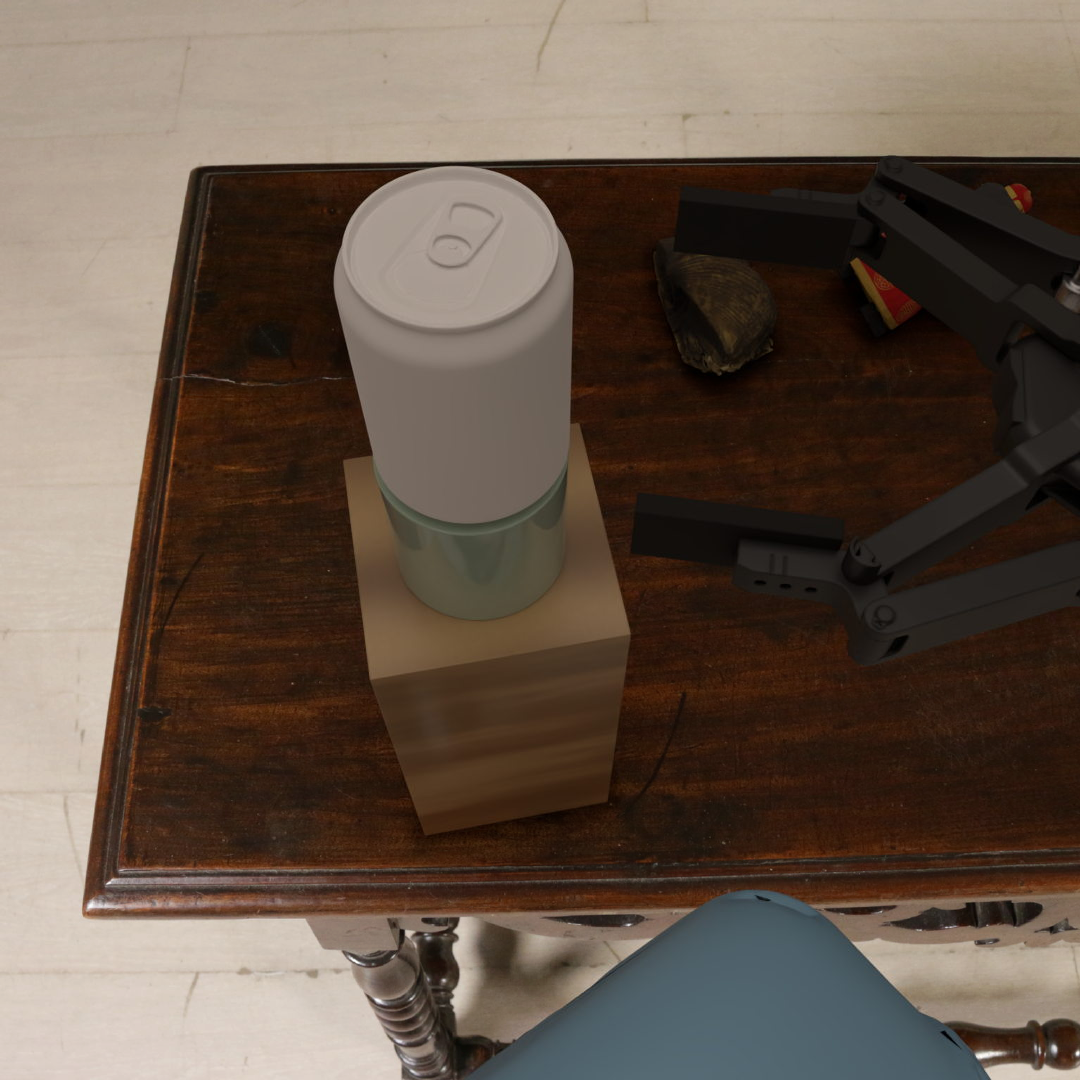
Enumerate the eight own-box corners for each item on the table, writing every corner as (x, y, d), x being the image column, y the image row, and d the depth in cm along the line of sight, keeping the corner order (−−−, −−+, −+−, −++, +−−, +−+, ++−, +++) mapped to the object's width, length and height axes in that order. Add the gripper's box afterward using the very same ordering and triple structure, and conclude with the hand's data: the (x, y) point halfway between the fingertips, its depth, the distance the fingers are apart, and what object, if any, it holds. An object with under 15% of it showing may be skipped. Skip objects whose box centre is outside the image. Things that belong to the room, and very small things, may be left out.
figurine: (894, 372, 98) (1066, 275, 93) (873, 331, 89) (1061, 221, 85) (842, 284, 101) (1006, 186, 97) (817, 236, 93) (995, 127, 88)
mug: (582, 604, 54) (586, 516, 47) (406, 634, 53) (384, 549, 46) (536, 404, 60) (534, 298, 52) (377, 429, 59) (353, 325, 52)
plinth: (607, 802, 76) (631, 634, 53) (424, 836, 75) (369, 679, 52) (571, 636, 82) (579, 422, 59) (401, 666, 81) (342, 459, 58)
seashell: (623, 253, 99) (647, 188, 93) (719, 251, 101) (748, 188, 96) (681, 404, 90) (710, 343, 85) (783, 398, 93) (819, 339, 87)
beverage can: (340, 491, 48) (280, 293, 37) (427, 347, 51) (396, 129, 41) (521, 560, 46) (512, 373, 35) (598, 406, 50) (611, 195, 39)
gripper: (1288, 94, 42) (701, 37, 44) (1431, 748, 30) (616, 631, 32) (1189, 242, 49) (682, 187, 51) (1274, 827, 37) (605, 726, 39)
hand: (655, 359), depth 41 cm, fingers open, 13 cm apart
